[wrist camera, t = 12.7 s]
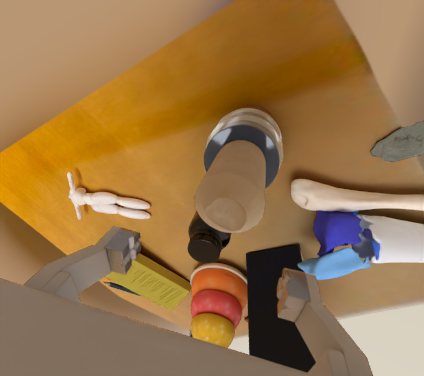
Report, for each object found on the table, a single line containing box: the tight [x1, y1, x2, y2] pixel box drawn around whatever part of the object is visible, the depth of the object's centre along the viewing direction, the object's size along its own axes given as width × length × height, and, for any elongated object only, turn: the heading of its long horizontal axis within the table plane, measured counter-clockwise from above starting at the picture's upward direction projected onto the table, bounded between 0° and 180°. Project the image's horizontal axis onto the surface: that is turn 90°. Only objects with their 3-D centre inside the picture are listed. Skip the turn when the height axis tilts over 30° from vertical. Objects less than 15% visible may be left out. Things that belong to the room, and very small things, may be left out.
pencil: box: [104, 282, 141, 296], centre depth 58 cm, size 1×1×15 cm
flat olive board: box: [105, 253, 191, 311], centre depth 53 cm, size 12×2×24 cm
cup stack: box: [204, 106, 283, 188], centre depth 29 cm, size 10×10×11 cm
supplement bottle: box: [188, 211, 231, 263], centre depth 36 cm, size 7×7×12 cm
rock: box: [370, 121, 424, 162], centre depth 28 cm, size 9×2×5 cm
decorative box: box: [246, 245, 316, 373], centre depth 35 cm, size 11×30×9 cm
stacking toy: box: [190, 263, 248, 348], centre depth 43 cm, size 14×14×20 cm
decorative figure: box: [67, 172, 151, 220], centre depth 46 cm, size 4×12×18 cm
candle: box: [195, 140, 266, 233], centre depth 20 cm, size 6×6×10 cm
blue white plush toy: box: [291, 179, 424, 280], centre depth 31 cm, size 13×25×12 cm
